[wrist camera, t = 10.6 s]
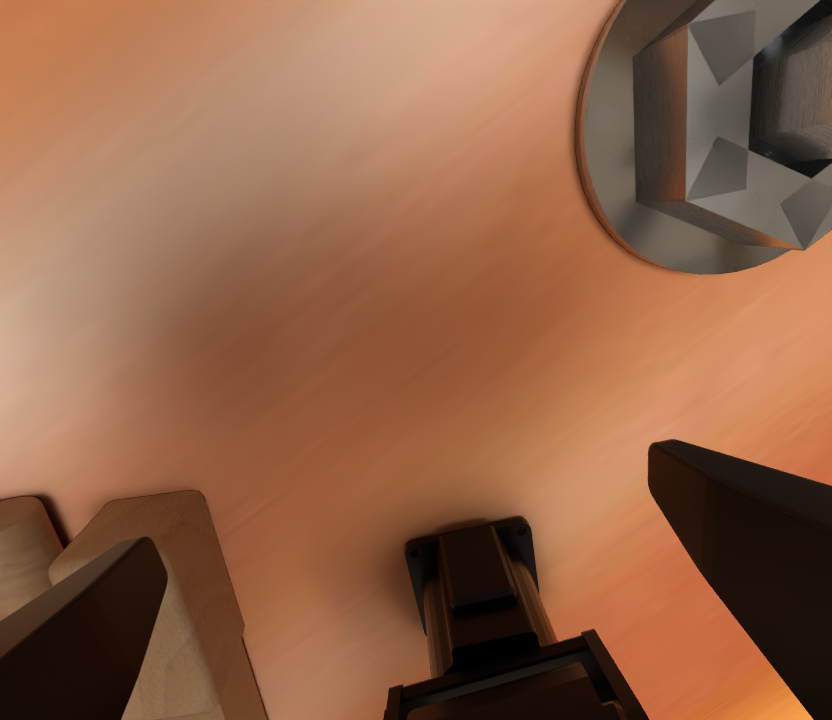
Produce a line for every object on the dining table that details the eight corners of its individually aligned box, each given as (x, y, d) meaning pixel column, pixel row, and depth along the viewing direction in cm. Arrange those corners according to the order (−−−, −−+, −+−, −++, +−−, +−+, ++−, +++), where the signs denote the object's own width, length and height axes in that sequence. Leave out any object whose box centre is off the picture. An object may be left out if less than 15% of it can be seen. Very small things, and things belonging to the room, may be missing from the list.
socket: (918, 136, 18) (1060, 117, 14) (670, 326, 20) (736, 354, 16) (800, -172, 15) (946, -305, 11) (513, 94, 17) (552, 61, 13)
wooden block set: (141, 554, 16) (253, 843, 22) (201, 467, 21) (278, 718, 27) (-360, 622, 15) (-102, 900, 21) (-168, 514, 21) (-6, 761, 27)
